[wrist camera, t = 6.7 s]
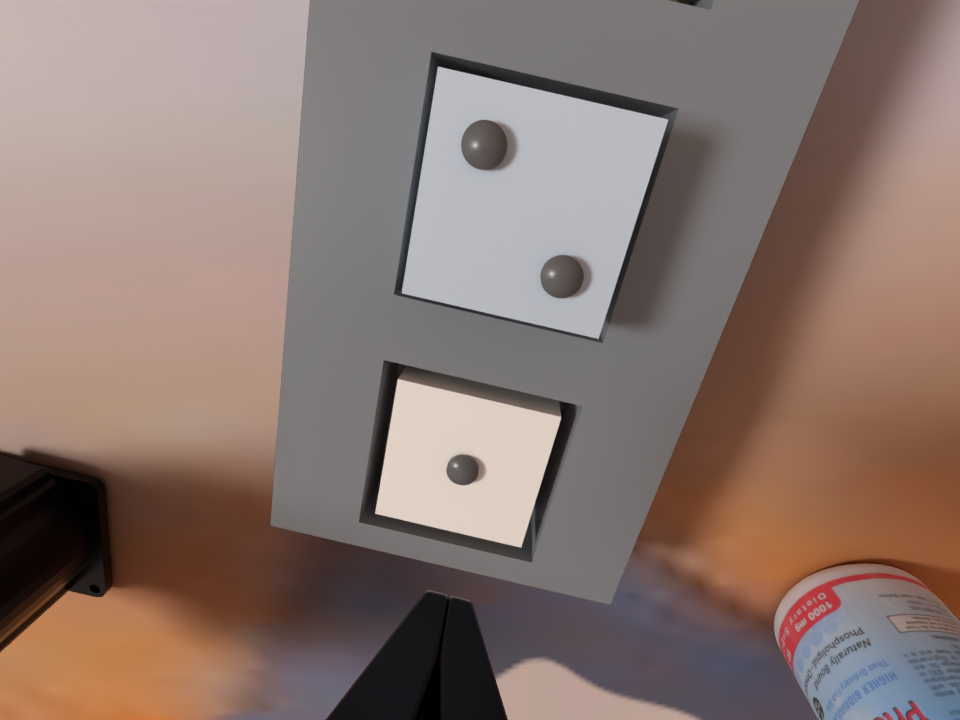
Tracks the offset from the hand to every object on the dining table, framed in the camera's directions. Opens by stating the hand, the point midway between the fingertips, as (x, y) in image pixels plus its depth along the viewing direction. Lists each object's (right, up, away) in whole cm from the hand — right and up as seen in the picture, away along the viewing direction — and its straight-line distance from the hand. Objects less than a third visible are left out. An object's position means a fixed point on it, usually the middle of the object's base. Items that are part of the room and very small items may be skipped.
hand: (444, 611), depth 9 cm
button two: (+2, +9, +5) cm, 10 cm away
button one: (0, +2, +9) cm, 9 cm away
